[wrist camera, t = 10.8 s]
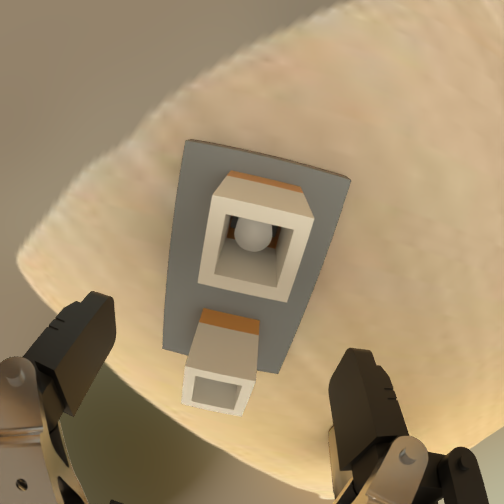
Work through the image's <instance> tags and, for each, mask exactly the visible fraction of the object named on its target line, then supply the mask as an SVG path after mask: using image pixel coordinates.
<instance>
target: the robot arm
mask: <svg viewBox="0 0 504 504" xmlns="http://www.w3.org/2000/svg"><path fill="white" fill-rule="evenodd" d="M115 338H116V323H115V310H114V300H113V298H112V297H111V296H107V295H104V294H101V293H98V292H94V291H91V292H90V293H89V294H88V295H87V296H86V297H85V298H84V300H83V301H82V302H81V303H80V302H77V301H76V302H74V303H72V304H70V305H68V306H66V307H65V308H63V309H62V311H61V312H60V313H59V314H58V315H57V316H56V319H54V320H53V321H52V322H51V323H50V324H49V327H47V328H46V329H45V330H44V331H43V333H42V334H41V335H40V336H39V337H38V339H37V340H36V341H35V342H34V343H33V345H32V346H31V347H30V348H29V350H28V351H27V352H26V354H25V355H24V356H23V357H18V356H14V357H9V358H7V359H5V360H3V361H2V362H1V363H0V504H89V503H88V501H87V499H86V496H85V494H84V491H83V489H82V487H81V485H80V483H79V481H78V479H77V477H76V475H75V473H74V471H73V468H72V465H71V461H70V458H69V455H68V452H67V448H66V445H65V440H64V437H63V433H62V429H61V424H60V421H59V419H60V417H61V415H62V413H63V412H64V413H67V414H69V415H71V416H73V417H74V416H75V414H76V412H77V410H78V408H79V406H80V405H81V403H82V400H83V399H84V397H85V395H86V393H87V392H88V390H89V388H90V386H91V384H92V382H93V381H94V379H95V377H96V375H97V373H98V371H99V370H100V368H101V366H102V365H103V363H104V361H105V360H106V358H107V356H108V354H109V353H110V351H111V349H112V347H113V345H114V342H115ZM396 398H397V397H396V394H395V392H394V391H393V386H392V383H391V380H390V378H389V376H388V375H387V373H386V372H385V371H384V370H383V368H382V367H381V366H378V365H376V363H375V360H374V357H373V354H372V352H371V351H370V350H364V349H356V348H349V349H347V351H346V352H345V354H344V356H343V358H342V359H341V361H340V363H339V365H338V366H337V368H336V370H335V372H334V373H333V375H332V377H331V379H330V383H329V399H330V405H331V411H332V418H333V425H334V426H333V427H332V428H331V430H330V431H329V442H328V444H329V453H330V462H331V472H332V483H333V492H334V495H335V501H334V502H333V503H332V504H438V501H439V500H441V499H442V498H444V503H445V504H489V502H488V498H487V494H486V490H485V487H484V482H483V479H482V475H481V472H480V469H479V466H478V462H477V459H476V457H475V455H474V454H473V453H472V452H471V451H470V450H469V449H467V448H465V447H457V448H454V449H453V450H452V451H451V452H450V453H448V454H447V455H442V454H437V453H431V452H427V449H426V447H425V446H424V444H423V443H422V442H421V441H420V440H418V439H417V438H414V437H412V436H409V434H408V431H407V427H406V424H405V421H404V418H403V415H402V412H401V409H400V406H399V403H398V400H396ZM110 504H122V503H119V502H117V501H114V500H111V501H110Z"/></svg>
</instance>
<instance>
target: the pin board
mask: <svg viewBox="0 0 504 504" xmlns="http://www.w3.org/2000/svg"><path fill="white" fill-rule="evenodd" d="M231 170H232V171H237V172H241V173H246V174H250V175H255V176H259V177H263V178H268V179H272V180H276V181H280V182H284V183H288V184H292V185H296V186H300V187H301V189H302V191H303V193H304V196H305V198H306V200H307V203H308V205H309V207H310V209H311V212H312V214H313V216H314V222H313V225H312V228H311V231H310V235H309V238H308V241H307V244H306V247H305V250H304V253H303V256H302V259H301V262H300V265H299V268H298V271H297V274H296V277H295V280H294V283H293V286H292V289H291V292H290V295H289V298H288V301H287V303H286V302H281V301H276V300H271V299H267V298H262V297H257V296H253V295H248V294H243V293H239V292H234V291H230V290H225V289H221V288H217V287H212V286H208V285H204V284H200V283H198V277H199V270H200V264H201V258H202V251H203V245H204V239H205V233H206V228H207V222H208V216H209V211H210V205H211V200H212V195H213V193H214V192H215V191H216V189H217V188H218V187H219V185H220V184H221V183H222V181H223V180H224V179H225V177H226V176H227V175H228V173H229V172H230V171H231ZM350 182H351V180H350V179H349V178H348V177H346V176H344V175H340V174H337V173H334V172H330V171H327V170H323V169H320V168H316V167H313V166H309V165H306V164H302V163H298V162H294V161H290V160H287V159H283V158H279V157H275V156H270V155H266V154H262V153H258V152H253V151H249V150H244V149H240V148H235V147H230V146H225V145H220V144H215V143H210V142H204V141H199V140H193V139H190V140H186V141H185V147H184V152H183V158H182V164H181V170H180V176H179V183H178V189H177V196H176V203H175V210H174V218H173V226H172V234H171V242H170V251H169V261H168V272H167V283H166V295H165V309H164V326H163V347H162V349H165V350H169V351H173V352H177V353H180V354H184V355H188V358H187V361H186V364H185V371H184V380H183V390H182V400H181V404H184V405H188V406H192V407H197V408H201V409H205V410H210V411H215V412H220V413H225V414H230V415H235V416H241V417H242V415H243V412H244V410H245V407H246V405H247V403H248V400H249V398H250V395H251V393H252V390H253V387H254V385H255V382H256V373H257V370H258V371H263V372H269V373H275V374H278V373H279V371H280V368H281V366H282V364H283V362H284V359H285V357H286V355H287V352H288V350H289V348H290V345H291V343H292V341H293V338H294V336H295V334H296V331H297V329H298V326H299V324H300V322H301V319H302V317H303V314H304V312H305V309H306V307H307V304H308V302H309V299H310V297H311V294H312V291H313V289H314V286H315V284H316V281H317V278H318V276H319V273H320V270H321V268H322V265H323V262H324V260H325V257H326V254H327V251H328V248H329V246H330V243H331V240H332V237H333V234H334V231H335V228H336V226H337V223H338V220H339V217H340V214H341V211H342V208H343V204H344V201H345V198H346V195H347V192H348V189H349V186H350ZM230 227H231V228H235V232H234V235H235V240H236V242H237V243H238V245H239V246H240V247H241V248H243V249H245V250H247V251H251V252H256V251H260V250H263V249H264V248H266V247H267V246H268V245H269V244H270V242H271V239H272V237H275V236H276V232H277V228H278V226H276V225H272V224H267V223H263V222H259V221H254V220H250V219H246V218H241V217H237V216H233V217H232V221H231V226H230Z"/></svg>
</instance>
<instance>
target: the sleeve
mask: <svg viewBox="0 0 504 504" xmlns="http://www.w3.org/2000/svg"><path fill="white" fill-rule="evenodd" d="M233 216H237V217H241V218H246V219H250V220H254V221H259V222H263V223H267V224H272V225H276V226H278V228H277V232H276V236H275V237H272V239H271V242H270V244H269V245H268V246H267V247H266V248H264V249H263V250H260V251H256V252H251V251H247V250H245V249H243V248H241V247H240V246H239V245H238V243H237V242H236V240H235V235H234V232H235V228H231V227H230V226H231V221H232V217H233ZM313 222H314V216H313V214H312V212H311V209H310V207H309V205H308V203H307V200H306V198H305V196H304V193H303V191H302V189H301V187H300V186H296V185H292V184H288V183H284V182H280V181H276V180H272V179H268V178H263V177H259V176H255V175H250V174H246V173H241V172H237V171H232V170H231V171H230V172H229V173H228V175H227V176H226V177H225V179H224V180H223V181H222V183H221V184H220V185H219V187H218V188H217V189H216V191H215V192H214V193H213V195H212V200H211V205H210V211H209V216H208V222H207V228H206V233H205V239H204V245H203V251H202V258H201V264H200V270H199V277H198V283H200V284H204V285H208V286H212V287H217V288H221V289H225V290H230V291H234V292H239V293H243V294H248V295H253V296H257V297H262V298H267V299H271V300H276V301H281V302H286V303H287V301H288V298H289V295H290V292H291V289H292V286H293V283H294V280H295V277H296V274H297V271H298V268H299V265H300V262H301V259H302V256H303V253H304V250H305V247H306V244H307V241H308V238H309V235H310V231H311V228H312V225H313Z"/></svg>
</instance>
